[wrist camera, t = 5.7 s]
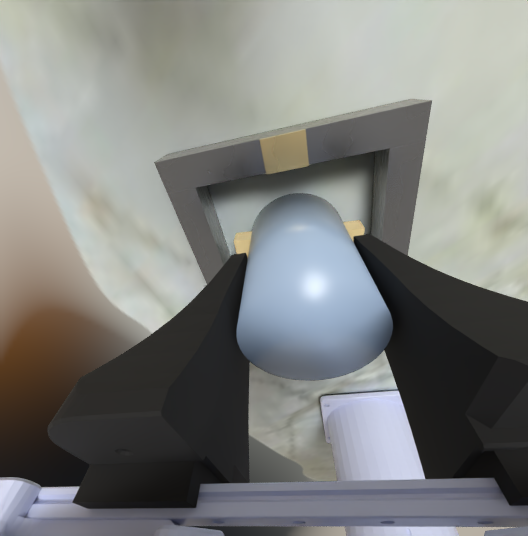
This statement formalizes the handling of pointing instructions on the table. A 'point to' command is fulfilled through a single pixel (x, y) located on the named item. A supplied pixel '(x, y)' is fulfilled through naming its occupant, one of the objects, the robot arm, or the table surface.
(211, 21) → the table surface
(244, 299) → the blue-grey rounded tapered piece
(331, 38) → the table surface
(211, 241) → the collar
